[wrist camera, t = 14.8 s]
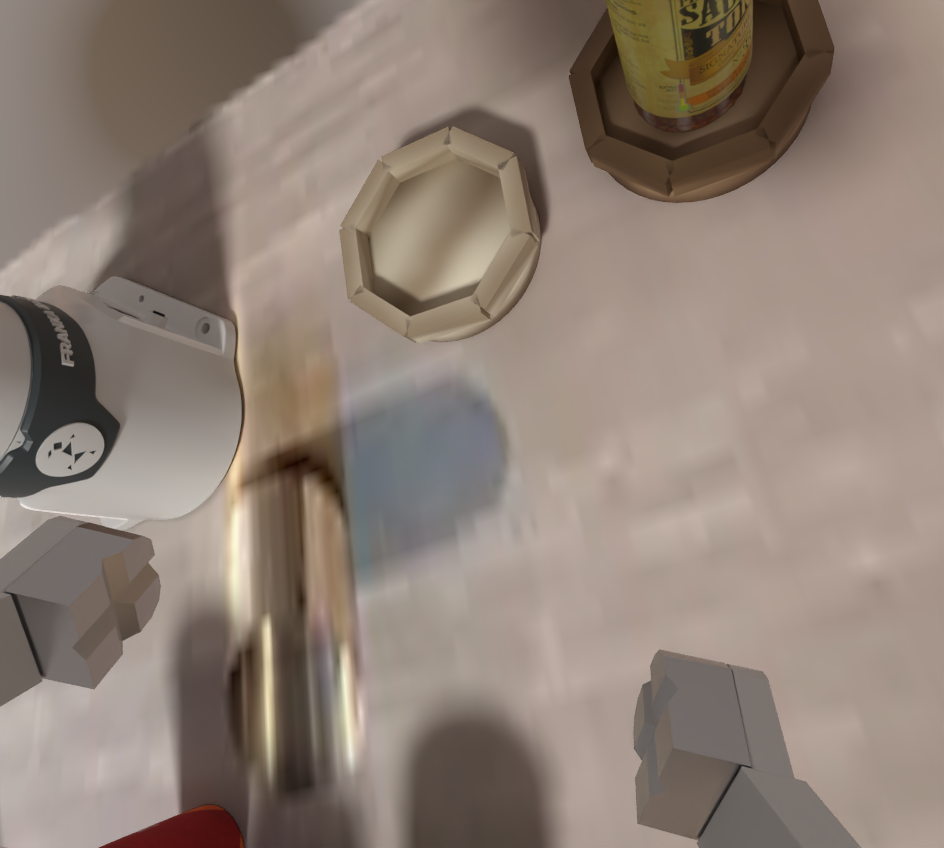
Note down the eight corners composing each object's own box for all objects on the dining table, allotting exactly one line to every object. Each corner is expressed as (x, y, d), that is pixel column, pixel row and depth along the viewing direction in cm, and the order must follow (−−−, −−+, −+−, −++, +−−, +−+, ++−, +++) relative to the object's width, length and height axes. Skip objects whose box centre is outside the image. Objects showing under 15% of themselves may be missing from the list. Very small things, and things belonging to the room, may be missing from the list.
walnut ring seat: (551, 161, 40) (533, 130, 37) (661, -20, 39) (653, -69, 36) (734, 239, 35) (732, 211, 32) (868, 33, 34) (879, -19, 30)
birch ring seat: (342, 293, 45) (310, 276, 42) (433, 137, 44) (408, 107, 41) (474, 379, 40) (450, 366, 37) (582, 204, 39) (566, 175, 36)
